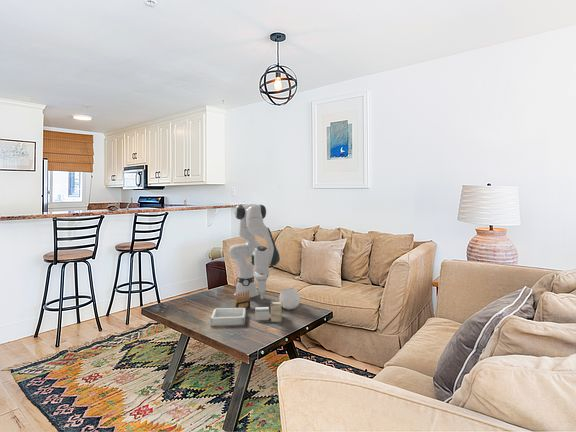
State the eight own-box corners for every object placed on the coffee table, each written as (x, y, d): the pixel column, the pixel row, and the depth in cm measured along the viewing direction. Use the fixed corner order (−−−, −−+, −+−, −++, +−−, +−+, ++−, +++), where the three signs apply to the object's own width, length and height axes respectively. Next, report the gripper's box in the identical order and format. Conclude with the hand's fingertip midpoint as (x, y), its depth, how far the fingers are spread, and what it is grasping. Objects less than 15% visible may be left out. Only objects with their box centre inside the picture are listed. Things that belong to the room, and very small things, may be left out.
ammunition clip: (236, 311, 227) (235, 292, 226) (234, 310, 229) (234, 292, 228) (250, 307, 233) (250, 290, 233) (248, 306, 235) (248, 289, 234)
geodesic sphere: (285, 294, 243) (280, 281, 234) (304, 296, 239) (300, 282, 230) (279, 312, 233) (274, 299, 224) (299, 314, 228) (295, 301, 219)
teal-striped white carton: (255, 318, 213) (255, 307, 213) (268, 318, 214) (268, 307, 213) (255, 320, 210) (255, 309, 210) (268, 320, 211) (268, 308, 210)
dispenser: (270, 316, 217) (270, 300, 216) (280, 316, 217) (280, 300, 217) (271, 321, 208) (270, 305, 207) (281, 321, 208) (281, 305, 208)
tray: (214, 315, 219) (214, 308, 218) (245, 314, 220) (245, 307, 220) (210, 326, 201) (210, 318, 201) (244, 325, 203) (244, 317, 202)
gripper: (256, 270, 220) (257, 291, 221) (256, 277, 200) (256, 301, 201) (266, 269, 221) (267, 291, 221) (267, 277, 200) (267, 301, 201)
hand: (262, 296), depth 211 cm, fingers open, 8 cm apart
